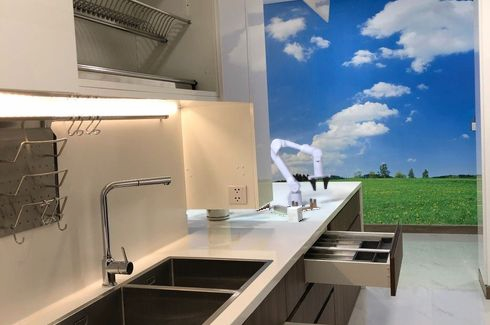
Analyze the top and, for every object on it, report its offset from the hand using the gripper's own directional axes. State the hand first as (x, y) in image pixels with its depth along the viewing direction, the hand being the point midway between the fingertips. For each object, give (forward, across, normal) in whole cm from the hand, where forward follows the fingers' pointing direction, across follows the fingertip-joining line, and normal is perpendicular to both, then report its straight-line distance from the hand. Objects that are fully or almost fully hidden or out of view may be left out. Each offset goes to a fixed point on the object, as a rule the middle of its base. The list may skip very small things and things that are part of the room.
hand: (320, 190), depth 311 cm
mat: (+9, -30, -7) cm, 32 cm away
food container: (+10, -35, +13) cm, 39 cm away
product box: (+10, -36, -35) cm, 51 cm away
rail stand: (+9, -16, -8) cm, 20 cm away
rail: (+9, -30, -6) cm, 32 cm away
